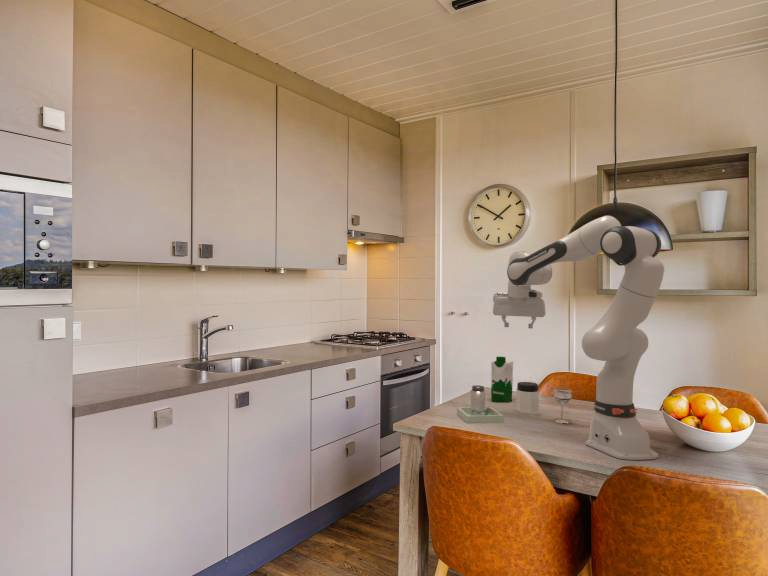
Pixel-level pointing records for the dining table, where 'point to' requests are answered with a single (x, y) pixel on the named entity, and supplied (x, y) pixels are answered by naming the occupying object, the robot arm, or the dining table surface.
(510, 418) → the dining table surface
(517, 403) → the jar
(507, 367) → the milk carton
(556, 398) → the wineglass
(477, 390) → the shaker
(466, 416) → the tray
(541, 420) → the dining table surface
